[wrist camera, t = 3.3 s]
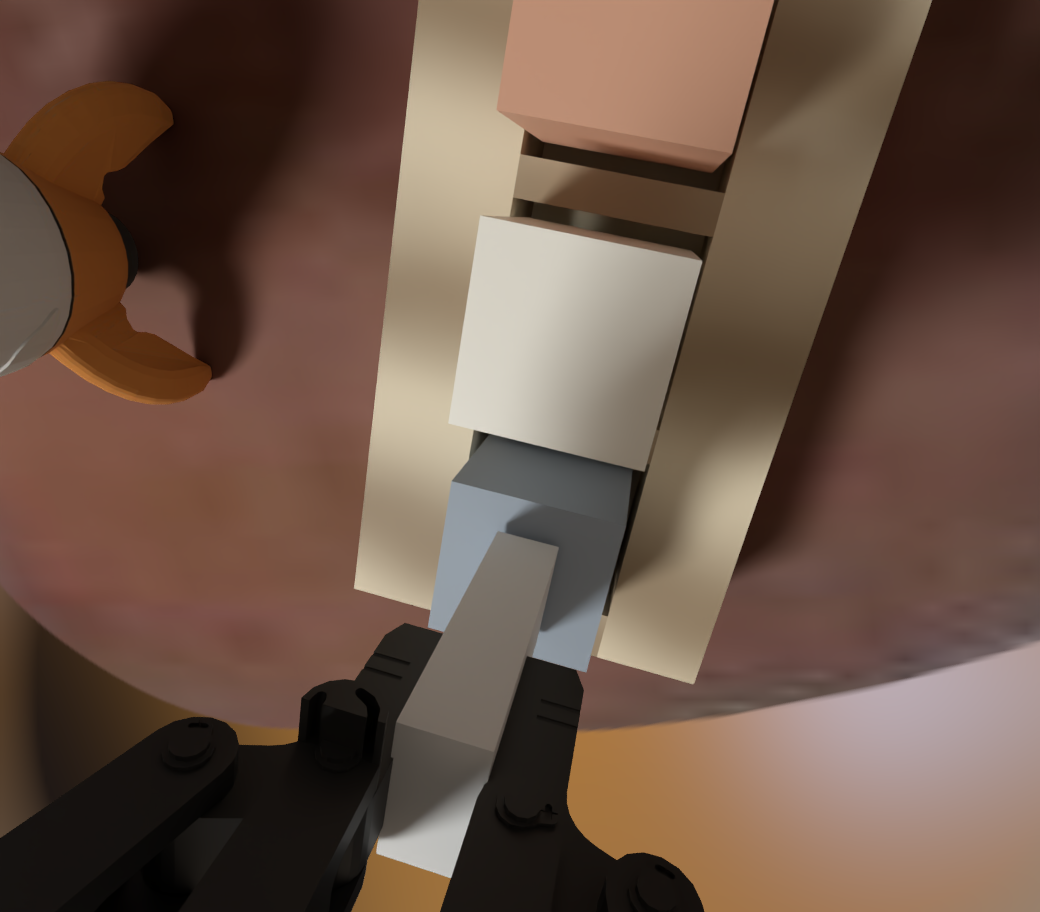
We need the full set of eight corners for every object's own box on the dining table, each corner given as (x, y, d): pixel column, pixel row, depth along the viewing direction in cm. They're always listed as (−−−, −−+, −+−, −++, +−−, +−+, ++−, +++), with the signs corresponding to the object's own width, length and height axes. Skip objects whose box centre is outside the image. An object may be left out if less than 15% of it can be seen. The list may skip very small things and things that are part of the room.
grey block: (499, 422, 20) (451, 481, 16) (634, 454, 20) (626, 525, 15) (477, 541, 22) (427, 627, 17) (602, 574, 21) (585, 672, 17)
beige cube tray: (494, -96, 19) (440, -199, 14) (894, -38, 18) (977, -131, 13) (408, 523, 26) (354, 588, 21) (687, 597, 25) (693, 684, 20)
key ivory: (529, 217, 17) (480, 215, 13) (691, 250, 17) (702, 260, 12) (501, 373, 19) (448, 423, 14) (648, 408, 18) (644, 471, 14)
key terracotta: (579, -61, 15) (542, -187, 10) (766, -33, 14) (816, -154, 10) (542, 141, 17) (496, 110, 12) (711, 173, 16) (731, 153, 11)
